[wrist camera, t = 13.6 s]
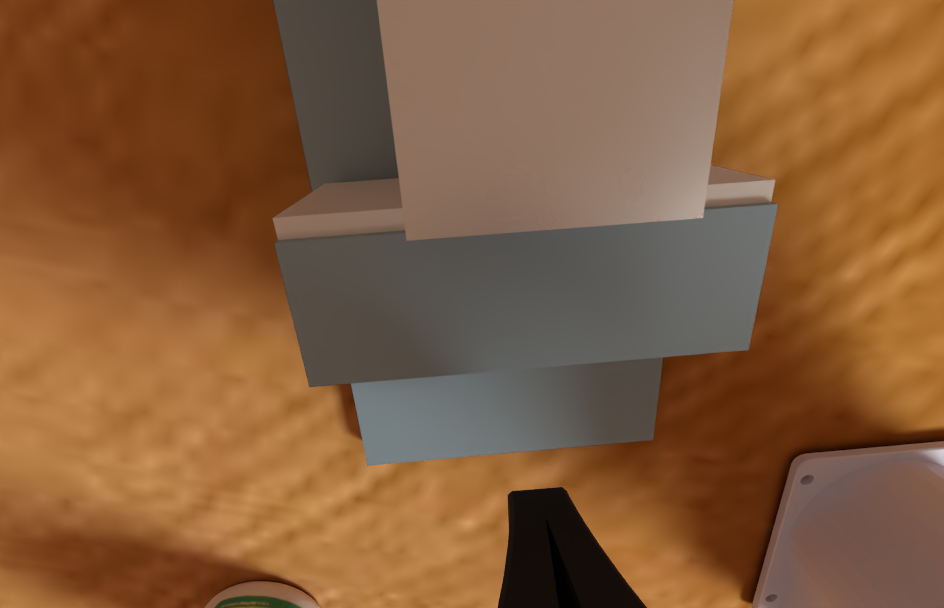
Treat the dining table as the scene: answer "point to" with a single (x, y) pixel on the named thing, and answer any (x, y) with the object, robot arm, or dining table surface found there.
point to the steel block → (552, 111)
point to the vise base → (453, 396)
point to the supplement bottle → (262, 596)
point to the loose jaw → (516, 286)
